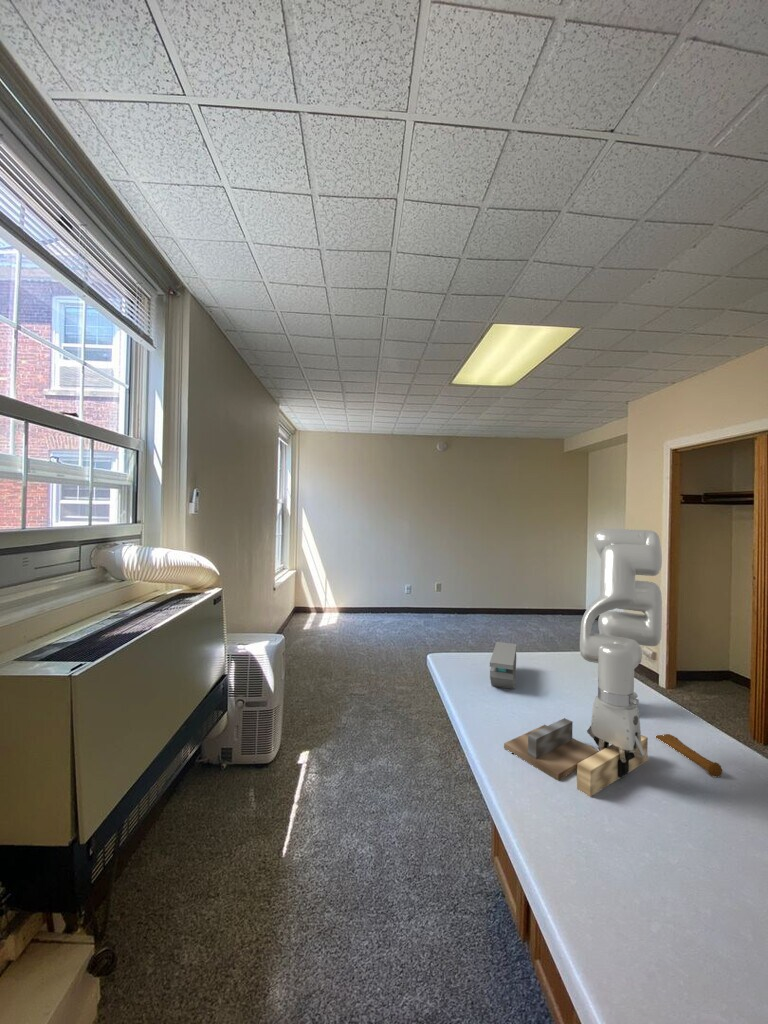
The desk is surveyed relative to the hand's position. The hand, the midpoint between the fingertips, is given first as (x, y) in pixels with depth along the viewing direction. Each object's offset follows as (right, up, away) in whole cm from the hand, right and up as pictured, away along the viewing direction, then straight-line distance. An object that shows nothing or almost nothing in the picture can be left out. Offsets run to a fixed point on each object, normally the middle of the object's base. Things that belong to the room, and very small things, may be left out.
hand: (614, 770), depth 103 cm
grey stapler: (-11, -1, +55) cm, 56 cm away
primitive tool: (+24, -2, +9) cm, 25 cm away
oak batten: (0, -1, 0) cm, 1 cm away
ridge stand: (-12, -1, +9) cm, 15 cm away
